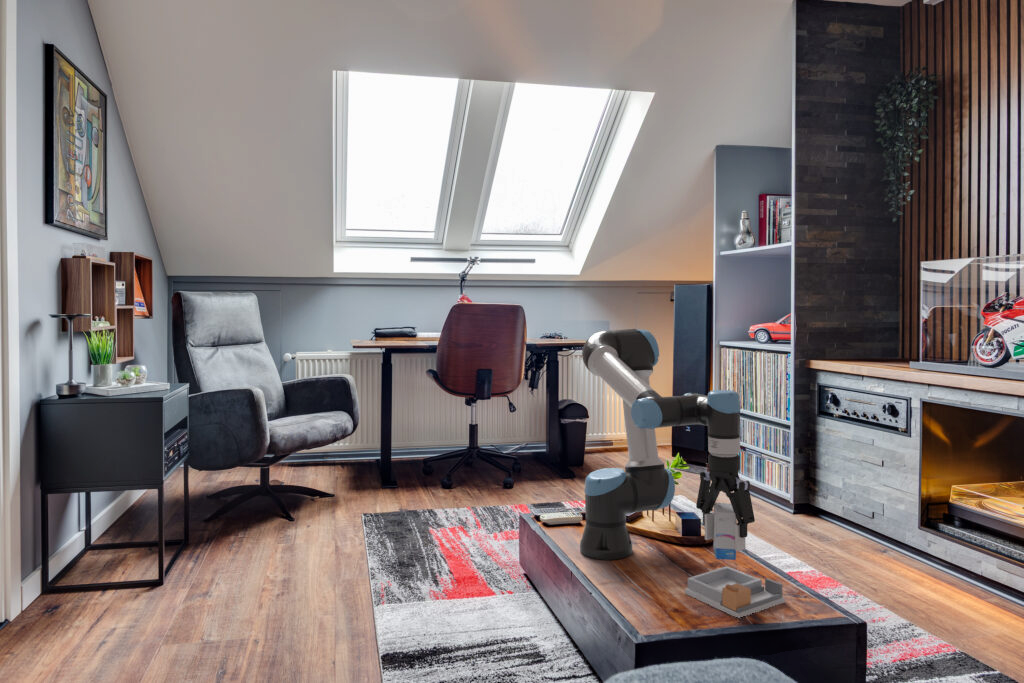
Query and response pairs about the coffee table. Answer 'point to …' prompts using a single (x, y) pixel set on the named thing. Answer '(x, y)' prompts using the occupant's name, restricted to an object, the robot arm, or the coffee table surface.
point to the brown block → (736, 596)
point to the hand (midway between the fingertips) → (724, 544)
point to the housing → (713, 581)
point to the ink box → (724, 531)
